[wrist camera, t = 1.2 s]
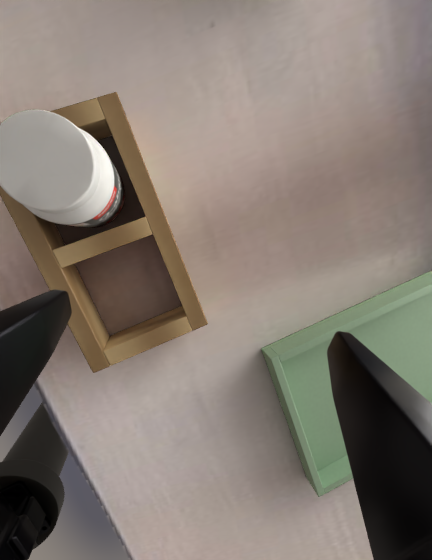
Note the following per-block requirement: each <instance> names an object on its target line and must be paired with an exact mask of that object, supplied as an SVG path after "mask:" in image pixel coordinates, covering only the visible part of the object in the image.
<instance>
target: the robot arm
mask: <svg viewBox="0 0 432 560" xmlns="http://www.w3.org/2000/svg"><path fill="white" fill-rule="evenodd" d="M71 314H72V309H71V304H70V299H69V294H68V292H67V291H64V290H57V289H53V290H51V291H48V292H46V293H43V294H41V295H39V296H36V297H34V298H31V299H29V300H27V301H24V302H22V303H19V304H17V305H14V306H12V307H10V308H7V309H5V310H2V311H0V436H1V434H2V433H3V431H4V430H5V428H6V426H7V425H8V423H9V422H10V420H11V419H12V417H13V415H14V414H15V412H16V411H17V409H18V408H19V406H20V405H21V403H22V401H23V400H24V398H25V396H26V395H27V394H28V392H29V390H30V389H31V387H32V386H33V384H34V383H35V381H36V379H37V378H38V376H39V375H40V373H41V372H42V370H43V369H44V367H45V365H46V364H47V362H48V361H49V359H50V357H51V356H52V354H53V352H54V350H55V348H56V346H57V344H58V342H59V340H60V338H61V336H62V334H63V332H64V330H65V328H66V326H67V323H68V321H69V319H70V317H71ZM327 359H328V366H329V373H330V381H331V388H332V394H333V400H334V404H335V408H336V412H337V416H338V420H339V424H340V428H341V432H342V436H343V440H344V444H345V448H346V452H347V456H348V459H349V463H350V467H351V471H352V475H353V479H354V483H355V487H356V491H357V495H358V499H359V503H360V507H361V511H362V515H363V519H364V523H365V527H366V531H367V535H368V539H369V543H370V547H371V551H372V554H373V558H374V560H432V403H430V402H429V401H428V400H427V399H426V398H425V397H423V396H422V395H421V394H420V393H419V392H418V391H417V390H415V389H414V388H413V387H412V386H411V385H410V384H408V383H407V382H406V381H405V380H404V379H403V378H402V377H400V376H399V375H398V374H397V373H396V372H395V371H394V370H392V369H391V368H390V367H389V366H388V365H387V364H385V363H384V362H383V361H382V360H381V359H380V358H379V357H377V356H376V355H375V354H374V353H373V352H372V351H370V350H369V349H368V348H367V347H366V346H365V345H364V344H362V343H361V342H360V341H359V340H358V339H357V338H355V337H354V336H353V335H352V334H351V333H349V332H342V331H337V332H336V333H335V334H334V336H333V338H332V340H331V343H330V345H329V347H328V349H327ZM17 486H19V487H17ZM45 526H46V527H45ZM50 526H51V522H50V521H49V519H48V517H47V516H46V514H45V513H44V511H43V510H42V508H41V507H40V505H39V504H38V502H37V501H36V499H35V498H34V496H33V495H32V493H31V492H30V490H29V489H28V487H27V486H26V484H25V483H24V482H23V481H17V482H15V483H13V484H11V485H8V486H6V487H4V488H2V489H0V560H28V559H29V557H30V554H31V552H32V549H33V547H34V544H35V541H36V539H37V536H39V535H41V534H43V533H45V532H47V531H48V530H49V529H50Z"/></svg>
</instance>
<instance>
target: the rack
mask: <svg viewBox="0 0 432 560" xmlns="http://www.w3.org/2000/svg"><path fill="white" fill-rule="evenodd" d="M50 112H53V113H56V114H58V115H60V116H62V117H64V118H66V119H68V120H69V121H70V122H72V123H73V124H74V125H76V126H77V127H78V128H80V129H82V130H84V131H85V132H87V133H88V134H90V135H91V136H92V137H93V138H94V139H96V140H100V139H103V138H106V137H109V136H113V139H114V141H115V143H116V146H117V148H118V151H119V153H120V156H121V158H122V160H123V163H124V165H125V168H126V170H127V173H128V175H129V177H130V180H131V182H132V185H133V187H134V190H135V192H136V194H137V197H138V199H139V202H140V204H141V207H142V209H143V212H144V214H145V216H146V217H143V218H140V219H137V220H134V221H132V222H129V223H126V224H123V225H121V226H118V227H115V228H112V229H110V230H107V231H104V232H101V233H98V234H96V235H93V236H90V237H87V238H85V239H82V240H79V241H76V242H74V243H71V244H68V245H65V244H64V242H63V240H62V237H61V235H60V233H59V231H58V229H57V227H56V225H55V223H53V222H50V221H47V220H45V219H42V218H40V217H38V216H37V215H35V214H33V213H32V212H31V211H29V210H28V209H27V208H26V207H25V206H24V205H23V204H21V203H19V202H18V201H16V200H15V199H13V198H12V197H11V196H10V195H8V194H7V193H6V192H5V191H4V190H3V188H2V187H1V186H0V195H1V197H2V199H3V201H4V203H5V205H6V207H7V209H8V211H9V213H10V215H11V217H12V218H13V220H14V222H15V224H16V226H17V228H18V230H19V232H20V234H21V236H22V238H23V239H24V241H25V243H26V245H27V247H28V249H29V251H30V253H31V255H32V257H33V259H34V261H35V262H36V264H37V266H38V268H39V270H40V272H41V274H42V276H43V278H44V280H45V282H46V283H47V285H48V287H49V289H50V291H51V290H53V289H57V290H64V291H67V292H68V294H69V299H70V304H71V309H72V314H71V317H70V319H69V321H68V323H67V324H68V326H69V327H70V329H71V331H72V333H73V335H74V337H75V339H76V341H77V343H78V345H79V347H80V349H81V350H82V352H83V354H84V356H85V358H86V360H87V362H88V364H89V366H90V368H91V370H92V371H93V373H95V372H97V371H100V370H102V369H104V368H107V367H109V366H110V365H114V364H116V363H118V362H121V361H123V360H125V359H128V358H130V357H132V356H135V355H137V354H139V353H142V352H144V351H146V350H149V349H151V348H153V347H155V346H158V345H160V344H162V343H165V342H167V341H169V340H172V339H174V338H176V337H179V336H181V335H183V334H186V333H188V332H190V331H192V330H195V329H198V328H200V327H202V326H204V325H207V324H208V323H207V320H206V317H205V315H204V312H203V310H202V307H201V305H200V302H199V300H198V297H197V295H196V292H195V290H194V287H193V285H192V282H191V279H190V277H189V274H188V272H187V269H186V267H185V264H184V262H183V259H182V257H181V254H180V252H179V249H178V246H177V244H176V241H175V239H174V236H173V234H172V231H171V229H170V226H169V224H168V221H167V219H166V216H165V213H164V211H163V208H162V206H161V203H160V201H159V198H158V196H157V193H156V191H155V188H154V186H153V183H152V181H151V178H150V175H149V173H148V170H147V168H146V165H145V163H144V160H143V158H142V155H141V153H140V150H139V148H138V145H137V142H136V140H135V137H134V135H133V132H132V130H131V127H130V125H129V122H128V120H127V117H126V115H125V112H124V110H123V107H122V104H121V102H120V99H119V97H118V94H117V92H114V93H111V94H107V95H104V96H101V97H97V98H94V99H91V100H87V101H84V102H81V103H77V104H74V105H70V106H67V107H64V108H60V109H57V110H53V111H50ZM152 234H153V236H154V238H155V241H156V243H157V246H158V248H159V250H160V253H161V255H162V258H163V260H164V263H165V265H166V267H167V270H168V272H169V275H170V277H171V280H172V282H173V284H174V287H175V289H176V292H177V294H178V297H179V299H180V302H181V304H182V306H180V307H178V308H175V309H173V310H171V311H168V312H166V313H163V314H161V315H159V316H156V317H154V318H151V319H149V320H146V321H144V322H142V323H139V324H137V325H134V326H132V327H130V328H127V329H125V330H122V331H120V332H118V333H115V334H113V335H110V336H109V333H108V331H107V329H106V327H105V325H104V323H103V321H102V319H101V317H100V315H99V313H98V311H97V309H96V307H95V305H94V303H93V301H92V299H91V297H90V295H89V293H88V291H87V289H86V287H85V284H84V282H83V280H82V278H81V276H80V274H79V272H78V270H77V268H76V266H75V264H74V263H77V262H80V261H82V260H85V259H88V258H90V257H93V256H96V255H99V254H101V253H104V252H107V251H109V250H112V249H115V248H117V247H120V246H123V245H125V244H128V243H131V242H134V241H136V240H139V239H142V238H144V237H147V236H150V235H152Z"/></svg>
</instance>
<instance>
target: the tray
mask: <svg viewBox="0 0 432 560" xmlns="http://www.w3.org/2000/svg"><path fill="white" fill-rule="evenodd" d="M337 331H342V332H349V333H351V334H352V335H353V336H354V337H355V338H357V339H358V340H359V341H360V342H361V343H362V344H364V345H365V346H366V347H367V348H368V349H369V350H370V351H372V352H373V353H374V354H375V355H376V356H377V357H379V358H380V359H381V360H382V361H383V362H384V363H385V364H387V365H388V366H389V367H390V368H391V369H392V370H394V371H395V372H396V373H397V374H398V375H399V376H400V377H402V378H403V379H404V380H405V381H406V382H407V383H408V384H410V385H411V386H412V387H413V388H414V389H415V390H417V391H418V392H419V393H420V394H421V395H422V396H423V397H425V398H426V399H427V400H428V401H429V402H430V403H432V271H430V272H427V273H425V274H423V275H421V276H419V277H417V278H414V279H412V280H410V281H408V282H406V283H403V284H401V285H399V286H397V287H395V288H392V289H390V290H388V291H386V292H384V293H382V294H379V295H377V296H375V297H373V298H371V299H368V300H366V301H364V302H362V303H360V304H357V305H355V306H353V307H351V308H349V309H347V310H344V311H342V312H340V313H338V314H336V315H333V316H331V317H329V318H327V319H325V320H322V321H320V322H318V323H316V324H314V325H312V326H309V327H307V328H305V329H303V330H301V331H298V332H296V333H294V334H292V335H290V336H287V337H285V338H283V339H281V340H279V341H277V342H274V343H272V344H270V345H268V346H266V347H263V348H261V350H262V352H263V355H264V358H265V361H266V364H267V367H268V369H269V372H270V375H271V378H272V381H273V384H274V386H275V389H276V392H277V395H278V398H279V400H280V403H281V406H282V409H283V412H284V415H285V417H286V420H287V423H288V426H289V429H290V432H291V434H292V437H293V440H294V443H295V446H296V449H297V451H298V454H299V457H300V460H301V463H302V466H303V468H304V471H305V474H306V477H307V479H308V481H309V482H310V484H311V485H312V487H313V489H314V490H315V492H316V493H317V495H318V497H320V496H322V495H324V494H326V493H328V492H329V491H331V490H333V489H335V488H337V487H338V486H340V485H342V484H344V483H346V482H347V481H349V480H351V479H353V475H352V471H351V467H350V463H349V459H348V456H347V452H346V448H345V444H344V440H343V436H342V432H341V428H340V424H339V420H338V416H337V412H336V408H335V404H334V400H333V394H332V388H331V381H330V373H329V366H328V359H327V349H328V347H329V345H330V343H331V340H332V338H333V336H334V334H335V333H336V332H337Z"/></svg>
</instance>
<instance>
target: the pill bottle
mask: <svg viewBox="0 0 432 560" xmlns="http://www.w3.org/2000/svg"><path fill="white" fill-rule="evenodd" d="M0 186H1V187H2V188H3V190H4V191H5V192H6V193H7V194H8V195H10V196H11V197H12V198H13V199H15V200H16V201H18V202H19V203H21V204H23V205H24V206H25V207H26V208H27V209H28V210H29V211H31V212H32V213H33V214H35V215H37V216H38V217H40V218H42V219H45V220H47V221H50V222H53V223H57V224H63V225H70V226H78V227H84V228H95V227H100V226H103V225H106V224H108V223H109V222H111V221H112V220H114V219H115V218H116V217H117V215H118V214H119V213H120V211H121V209H122V207H123V204H124V199H125V190H124V185H123V182H122V179H121V177H120V175H119V173H118V172H117V170H116V168H115V167H114V165H113V163H112V161H111V160H110V158H109V156H108V154H107V153H106V151H105V150H104V149H103V147H102V146H101V145H100V144H99V143H98V142H97V140H96V139H94V138H93V137H92V136H91V135H90V134H88V133H87V132H85V131H84V130H82V129H80V128H78V127H77V126H76V125H74V124H73V123H72V122H70V121H69V120H68V119H66V118H64V117H62V116H60V115H58V114H56V113H53V112H49V111H44V110H35V109H33V110H25V111H21V112H18V113H15V114H13V115H11V116H9V117H8V118H6V119H5V120H4V121H3V122H2V123H1V124H0Z"/></svg>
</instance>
